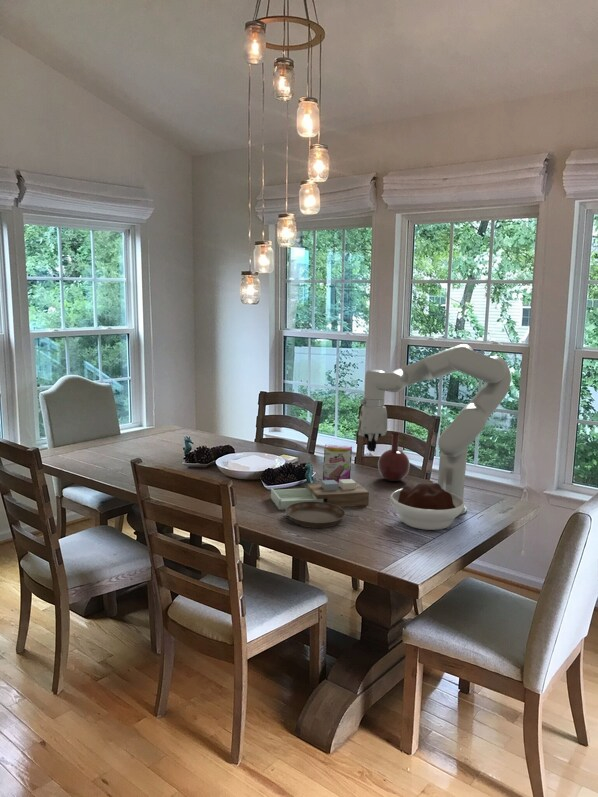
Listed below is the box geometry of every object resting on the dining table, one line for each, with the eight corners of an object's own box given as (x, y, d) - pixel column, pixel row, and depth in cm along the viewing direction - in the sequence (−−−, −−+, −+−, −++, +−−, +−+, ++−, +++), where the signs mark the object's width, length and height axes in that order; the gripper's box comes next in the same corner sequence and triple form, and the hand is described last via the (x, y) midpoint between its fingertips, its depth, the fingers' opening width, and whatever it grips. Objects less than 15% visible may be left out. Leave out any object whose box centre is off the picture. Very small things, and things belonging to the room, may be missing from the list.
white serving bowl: (412, 507, 252) (414, 468, 249) (475, 524, 236) (478, 482, 234) (374, 524, 233) (377, 482, 230) (440, 544, 217) (444, 499, 215)
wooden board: (368, 505, 253) (368, 492, 252) (316, 508, 248) (317, 495, 247) (355, 493, 266) (355, 481, 265) (306, 496, 261) (306, 483, 260)
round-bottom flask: (380, 474, 294) (383, 429, 290) (411, 478, 289) (414, 432, 286) (373, 482, 281) (376, 435, 278) (405, 486, 277) (408, 439, 274)
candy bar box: (322, 486, 274) (323, 447, 271) (323, 483, 279) (324, 444, 276) (350, 488, 273) (352, 448, 270) (350, 484, 278) (352, 445, 275)
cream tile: (355, 488, 255) (356, 482, 255) (343, 489, 254) (343, 483, 254) (351, 484, 260) (351, 478, 260) (338, 485, 259) (339, 479, 258)
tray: (323, 507, 249) (323, 496, 248) (279, 509, 244) (279, 499, 244) (312, 495, 262) (313, 485, 261) (270, 498, 257) (270, 488, 256)
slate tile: (338, 489, 254) (338, 483, 253) (325, 490, 252) (325, 484, 252) (333, 485, 258) (334, 479, 258) (321, 486, 257) (321, 480, 256)
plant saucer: (356, 525, 232) (357, 515, 232) (304, 534, 222) (304, 525, 222) (324, 507, 250) (325, 498, 249) (275, 515, 240) (275, 506, 239)
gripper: (358, 405, 248) (356, 453, 252) (396, 404, 252) (393, 452, 256) (351, 401, 255) (349, 448, 259) (388, 400, 260) (385, 447, 263)
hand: (371, 450), depth 257 cm, fingers closed
